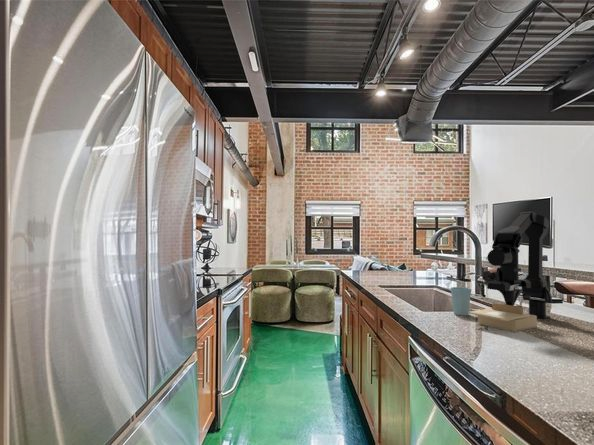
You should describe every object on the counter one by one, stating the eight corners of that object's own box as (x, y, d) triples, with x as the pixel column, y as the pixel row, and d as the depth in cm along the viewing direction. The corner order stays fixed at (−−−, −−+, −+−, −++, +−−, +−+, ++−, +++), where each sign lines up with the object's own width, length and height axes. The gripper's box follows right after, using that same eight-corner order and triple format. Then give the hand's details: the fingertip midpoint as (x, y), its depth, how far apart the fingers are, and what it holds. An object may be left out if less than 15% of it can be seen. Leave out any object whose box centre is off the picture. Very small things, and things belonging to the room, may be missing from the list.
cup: (458, 311, 150) (458, 286, 150) (475, 315, 143) (475, 289, 143) (446, 313, 146) (446, 287, 146) (463, 316, 139) (463, 290, 140)
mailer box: (499, 319, 135) (499, 309, 135) (536, 327, 124) (536, 315, 124) (477, 324, 127) (477, 312, 128) (515, 332, 116) (515, 320, 117)
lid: (491, 309, 132) (491, 301, 132) (528, 316, 121) (528, 307, 121) (468, 313, 125) (468, 304, 125) (506, 321, 114) (506, 311, 114)
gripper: (500, 263, 139) (501, 303, 139) (472, 264, 130) (473, 307, 129) (531, 265, 130) (532, 308, 129) (503, 266, 120) (504, 312, 119)
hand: (509, 308), depth 127 cm, fingers closed
